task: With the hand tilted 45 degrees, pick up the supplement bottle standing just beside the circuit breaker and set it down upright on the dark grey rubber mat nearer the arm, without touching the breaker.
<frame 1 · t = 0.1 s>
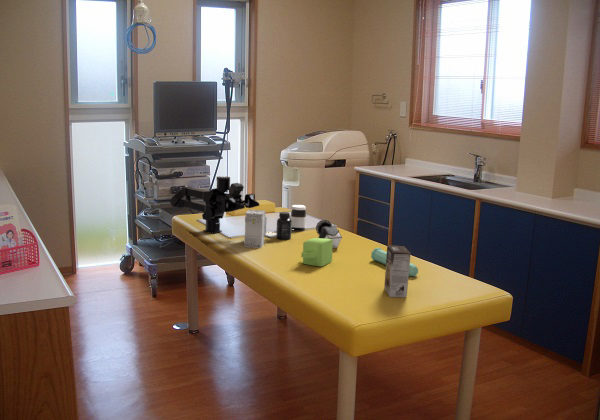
hand: (251, 205, 277), 17 cm above the table, tool horizontal, fingers open, 9 cm apart
circuit breaker: (255, 244, 278), on the table
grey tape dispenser: (327, 243, 285), on the table
white and brown mug: (294, 228, 311), on the table
supplement bottle: (283, 238, 290), on the table
grey mat: (270, 234, 295), on the table
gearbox: (316, 262, 254), on the table
container: (394, 269, 250), on the table
coffee box: (395, 293, 220), on the table
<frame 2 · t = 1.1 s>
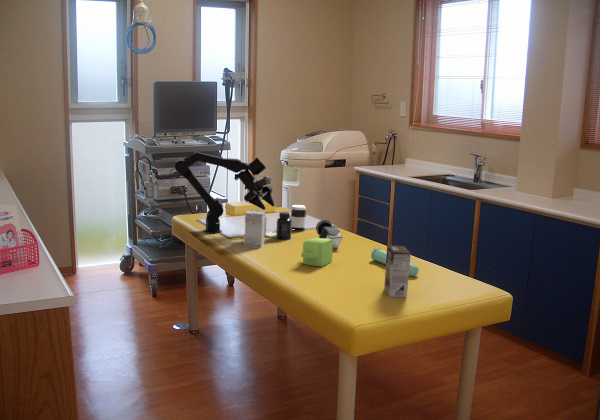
hand: (269, 207, 290), 14 cm above the table, tool tilted 45°, fingers open, 9 cm apart
nothing on the table moved.
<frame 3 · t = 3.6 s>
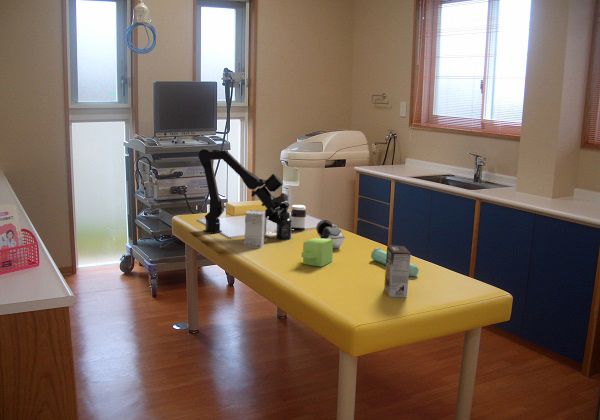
hand: (286, 224, 288), 7 cm above the table, tool tilted 45°, fingers closed on supplement bottle, 7 cm apart
supplement bottle: (283, 238, 290), on the table, touching gripper
everything else where it was.
when the fingers open (8 cm above the table, at t = 7.5 s): supplement bottle stays where it is, resting on grey mat.
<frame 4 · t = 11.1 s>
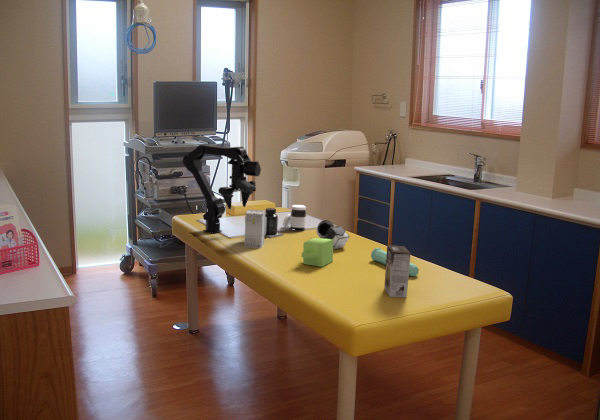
hand: (236, 207, 289), 13 cm above the table, tool pointing down, fingers open, 9 cm apart
supplement bottle: (269, 234, 295), resting on grey mat
at the end: supplement bottle 0.2 cm from the grey mat (horizontally); supplement bottle tilted 0°; circuit breaker moved 0.2 cm from its start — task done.
